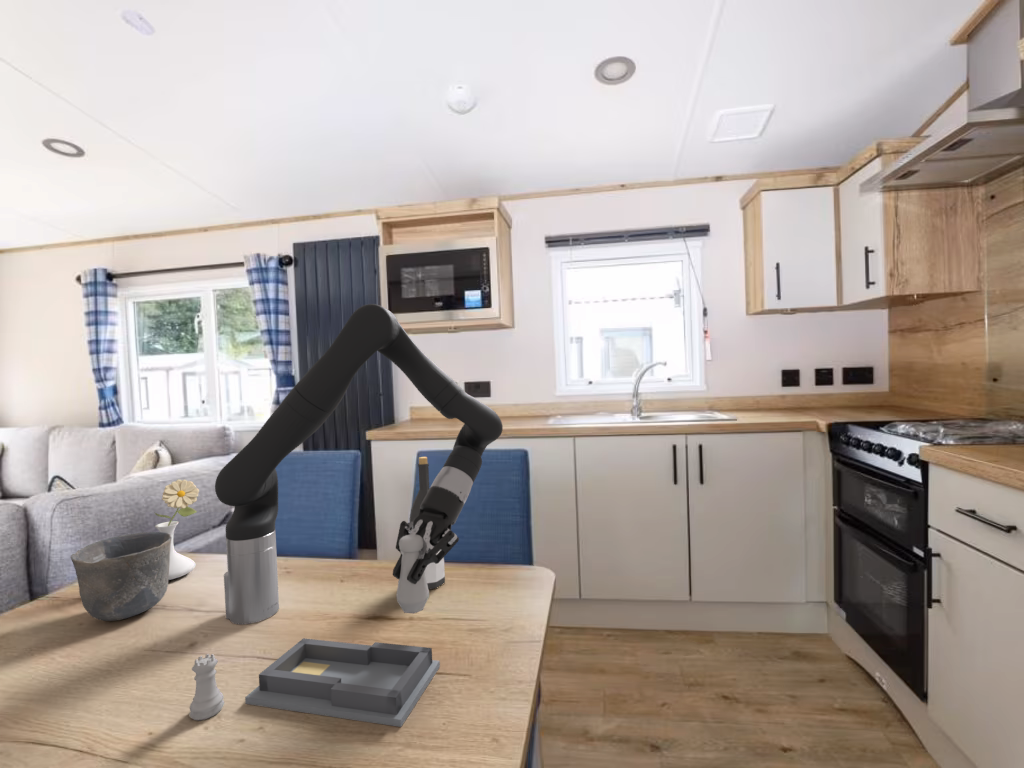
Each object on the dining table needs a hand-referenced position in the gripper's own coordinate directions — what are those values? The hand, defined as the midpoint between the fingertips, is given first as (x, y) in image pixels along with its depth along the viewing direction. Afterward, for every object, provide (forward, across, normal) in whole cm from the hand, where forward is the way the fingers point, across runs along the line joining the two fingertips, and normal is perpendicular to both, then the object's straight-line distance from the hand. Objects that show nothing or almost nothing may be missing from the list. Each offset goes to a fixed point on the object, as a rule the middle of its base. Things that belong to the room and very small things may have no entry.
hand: (403, 579), depth 84 cm
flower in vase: (+14, -80, +6) cm, 81 cm away
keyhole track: (+17, -2, +2) cm, 17 cm away
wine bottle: (-7, -17, +26) cm, 32 cm away
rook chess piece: (+28, -15, -9) cm, 33 cm away
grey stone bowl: (+24, -66, -4) cm, 71 cm away
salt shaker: (+3, 0, +6) cm, 6 cm away
